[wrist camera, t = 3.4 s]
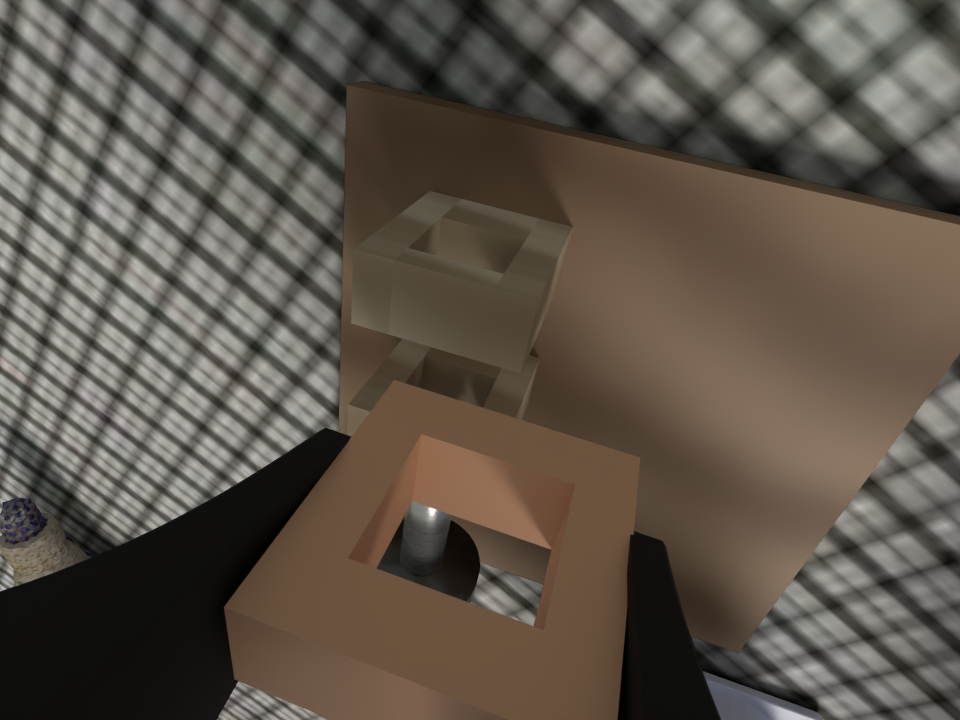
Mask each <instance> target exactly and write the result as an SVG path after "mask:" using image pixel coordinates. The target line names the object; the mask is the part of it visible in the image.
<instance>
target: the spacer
mask: <svg viewBox="0 0 960 720" xmlns="http://www.w3.org/2000/svg"><path fill="white" fill-rule="evenodd" d="M639 466H640V457H637V456H634V455H631V454H627V453H624V452H621V451H618V450H615V449H612V448H608V447H605V446H602V445H599V444H596V443H593V442H589V441H586V440H583V439H580V438H577V437H574V436H570V435H567V434H564V433H561V432H558V431H555V430H551V429H548V428H545V427H542V426H539V425H536V424H532V423H529V422H526V421H523V420H520V419H517V418H513V417H510V416H507V415H504V414H501V413H498V412H494V411H491V410H488V409H485V408H482V407H479V406H475V405H472V404H469V403H466V402H463V401H460V400H456V399H453V398H450V397H447V396H444V395H441V394H437V393H434V392H431V391H428V390H425V389H422V388H418V387H415V386H412V385H409V384H406V383H403V382H399V381H396V380H394V381H393V382H392V384H391V385H390V386H389V388H388V389H387V390H386V392H385V393H384V394H383V396H382V397H381V398H380V400H379V401H378V402H377V404H376V405H375V406H374V408H373V409H372V410H371V412H370V413H369V414H368V416H367V417H366V418H365V420H364V421H363V422H362V424H361V425H360V426H359V428H358V429H357V430H356V432H355V433H354V434H353V436H352V437H351V438H350V440H349V441H348V443H347V444H346V445H345V447H344V448H343V449H342V451H341V452H340V453H339V455H338V456H337V457H336V459H335V460H334V461H333V463H332V464H331V465H330V467H329V468H328V469H327V470H326V472H325V473H324V474H323V476H322V477H321V478H320V480H319V481H318V482H317V484H316V485H315V486H314V488H313V489H312V490H311V492H310V493H309V494H308V496H307V497H306V498H305V500H304V501H303V502H302V504H301V505H300V506H299V508H298V509H297V510H296V512H295V513H294V514H293V516H292V517H291V518H290V520H289V521H288V522H287V524H286V525H285V526H284V528H283V529H282V530H281V532H280V533H279V534H278V536H277V537H276V538H275V540H274V541H273V542H272V544H271V545H270V546H269V548H268V549H267V550H266V552H265V553H264V554H263V556H262V557H261V558H260V560H259V561H258V562H257V564H256V565H255V566H254V568H253V569H252V570H251V572H250V573H249V574H248V576H247V577H246V578H245V580H244V581H243V582H242V584H241V585H240V586H239V588H238V589H237V590H236V592H235V593H234V594H233V596H232V597H231V598H230V600H229V601H228V602H227V604H226V605H225V606H224V611H225V618H226V625H227V632H228V638H229V645H230V652H231V659H232V665H233V672H234V679H235V680H237V681H240V682H242V683H245V684H247V685H249V686H252V687H254V688H257V689H259V690H262V691H264V692H266V693H269V694H271V695H274V696H276V697H278V698H281V699H283V700H286V701H288V702H290V703H293V704H295V705H298V706H300V707H302V708H305V709H307V710H310V711H312V712H314V713H317V714H319V715H322V716H324V717H327V718H329V719H331V720H617V719H618V708H619V696H620V685H621V673H622V662H623V650H624V639H625V627H626V616H627V566H628V555H629V545H630V534H632V535H634V524H635V512H636V501H637V489H638V478H639ZM412 501H413V502H416V503H418V504H421V505H424V506H427V507H430V508H433V509H436V510H439V511H441V512H444V513H447V514H450V515H453V516H456V517H459V518H462V519H465V520H467V521H470V522H473V523H476V524H479V525H482V526H485V527H488V528H490V529H493V530H496V531H499V532H502V533H505V534H508V535H511V536H513V537H516V538H519V539H522V540H525V541H528V542H531V543H534V544H537V545H539V546H542V547H545V548H548V549H551V555H550V559H549V563H548V567H547V572H546V576H545V580H544V585H543V589H542V593H541V597H540V602H539V606H538V610H537V615H536V619H535V623H534V627H533V626H531V625H528V624H525V623H523V622H520V621H517V620H515V619H512V618H509V617H506V616H504V615H501V614H498V613H496V612H493V611H490V610H487V609H485V608H482V607H479V606H477V605H474V604H471V603H468V602H466V601H463V600H460V599H458V598H455V597H452V596H449V595H447V594H444V593H441V592H439V591H436V590H433V589H431V588H428V587H425V586H422V585H420V584H417V583H414V582H412V581H409V580H406V579H403V578H401V577H398V576H395V575H393V574H390V573H387V572H384V571H382V570H379V569H376V568H377V566H378V564H379V562H380V561H381V559H382V557H383V555H384V553H385V551H386V549H387V547H388V546H389V544H390V542H391V540H392V538H393V536H394V534H395V532H396V531H397V529H398V527H399V525H400V523H401V521H402V519H403V517H404V516H405V514H406V512H407V510H408V508H409V506H410V504H411V502H412Z"/></svg>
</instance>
